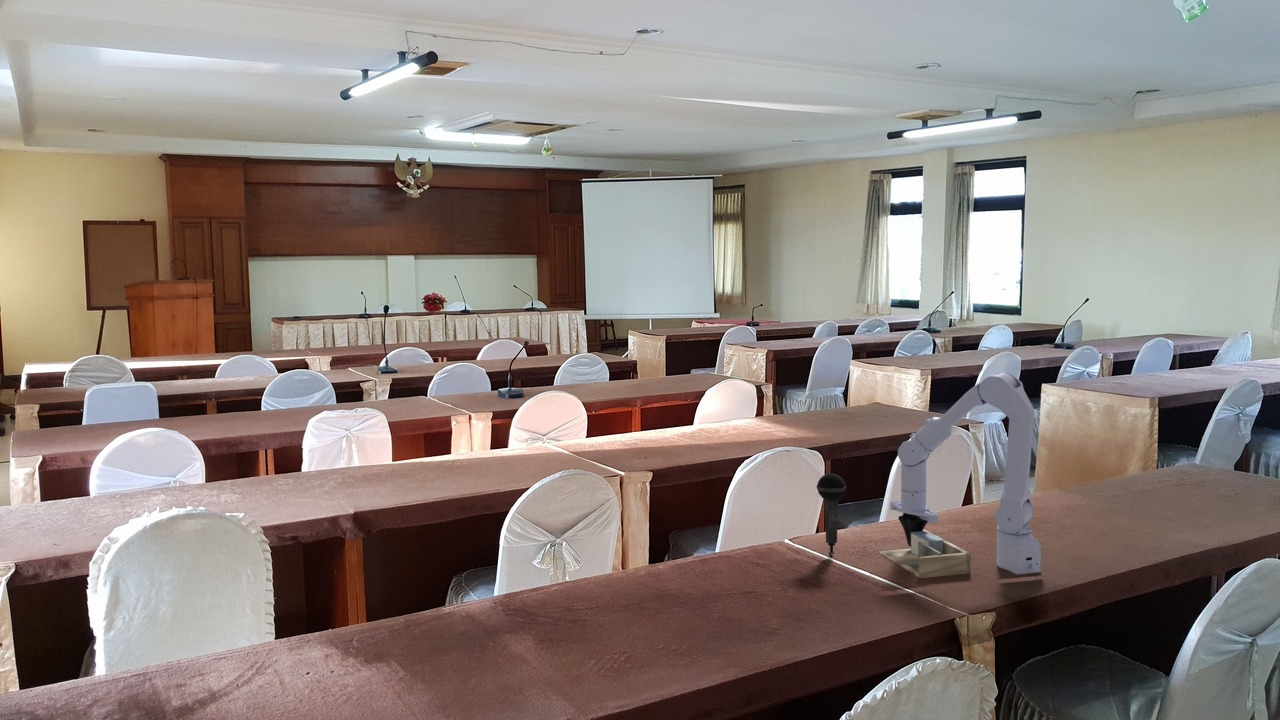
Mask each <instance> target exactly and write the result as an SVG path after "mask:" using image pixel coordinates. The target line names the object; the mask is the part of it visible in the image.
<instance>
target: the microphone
mask: <svg viewBox="0 0 1280 720" xmlns="http://www.w3.org/2000/svg"><path fill="white" fill-rule="evenodd" d="M816 489H817V491H818V494H819V496H820V497H821V498H822V499H824V525H825V542H826V544H827V545H828V546H829V551H828V556H829V557H831V556H832V557H833V555H834V554H835V552H834V546H835V545H836V544H837V543H838V524H839V522H838V521H839V500H840V499H841V498H843V496H845V495H844V494H845V492H846V489H847V486H846V483H845V481H844V478H842V476H840V475H839V474H837V473H833V472H832V473H831V472H830V473H829V472H828V473H826V474H824V475H822V476H821V477H820V478H819V480H818V481H817V484H816Z"/></svg>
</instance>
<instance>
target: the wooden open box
mask: <svg viewBox="0 0 1280 720" xmlns="http://www.w3.org/2000/svg"><path fill="white" fill-rule="evenodd" d="M923 531H926V532H928V533H930V534H932V535H934V536H936V537H938V538H940V539H942V540H943V555H941V553H940V552H939V551H937V550H935V549H933V548H931V547H930V546H928V545H926V544H924V543H922V542H918V556H916V555H914V554H912V553H911V548H904V549H903V548H902V549H892V550H891V549H890V550H881V551H878V553H879V554H881V555H883V556H885V557H886V558H887V559H889V560H890V561H892V562H893V563H895V564H897V565H898V566H900V567H901V568H903V569H905V570H907V571H908V572H909V573H911V574H913V575H914V576H916V577H918V578H920V579H926V578H935V577H937V578H938V577H946V576H957V575H966V574H971V568H972V566H971V558H972V556H971V555H972V554H971V552H969V551H967V550H965V549H962V547H959V546H958V545H955V544H953V543H951V542H949V541H948V540H945V539H943V538H942V537H941V536H938V535H936V534H934V533H932V532H930V531H929V530H927V529H925V528H924V529H923Z"/></svg>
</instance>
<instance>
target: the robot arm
mask: <svg viewBox="0 0 1280 720" xmlns="http://www.w3.org/2000/svg"><path fill="white" fill-rule="evenodd" d="M986 404H989V405H991V406H993V407H995V408H997V409H998V410H1000V411H1001V412H1002V413H1003V414H1004V415H1005V416H1006V417H1007V418H1008V433H1007V447H1006V448H1007V449H1006V457H1005V459H1006V460H1005V472H1004V485H1003V486H1004V487H1003V490H1002V494H1001V497H1000V504H999V506H998V508H997V509H996V511H995V513H994V521H995V524H996V525H997V526H996V528H997V529H996V530H997V531H996V566H998V567H997V568H1000V569H1003V570H1007V571H1008V572H1011V573H1013V574H1015V575H1024V574H1034V573H1035V574H1036V573H1041V564H1042V563H1041V562H1042V552H1041V551H1042V547H1041V546H1042V545H1041V543H1040V541H1039V540H1037V539H1036V538H1035V536H1034V535H1033V530H1032V529H1033V528H1032V527H1031V526H1032V525H1030V521H1032V519H1033V517H1034V513H1035V510H1034V506H1033V503H1032V501H1031V498H1032V493H1031V491H1030V489H1029V484H1030V483H1029V482H1030V473H1031V461H1032V460H1031V459H1032V458H1031V457H1032V448H1033V447H1032V446H1033V445H1032V444H1033V433H1034V423H1035V422H1034V421H1035V409H1034V406H1033V405H1032V403H1031V401H1030V398H1029V397H1028V395H1027V393H1026V392H1025V389H1024V384H1023V382H1022V381H1021V380H1020V379H1018V378H1017V377H1016V376H1015V375H1013V374H1012V373H1010V372H1008V371H1000V372H997V373H995V374H993V375H990V376H987V377H984V379H982V381H981V382H979V383H977V384H976V385H974V386H973V387H971V388H970V389H968V391H966V392H965V393H964V394H963V395H962V396H961V397H960V398H959V399H958V400H957V401H956V402H955V403H954V404H953V405H952V406H951V407H950V408H949V409H948V410H946V412H945V413H944V414H943V415H942V416H940V417H939V416H938V417H937V416H933V417H932V418H926V419H925V420H924V422H923V424H924V425H923V426H922V427H920V429H918V430H917V432H912V433H911V434H910V435H909V437H910V439H909V440H905V441H903V442H902V443H901V444H900V446H899V447H898V449H897V456H898V459H899V460H900V462H901V464H900V465H901V470H900V474H901V475H900V501H898V500H894V501H890V502H889V510H891V511H896V512H899V513H902V515H900V516H898V521H899V523H900V524H901V526H902V528H903V531H904V534H905V538H906V542H907V546H909V547H911V532H918V531H923V529H925V526H926V525H927V524H928V523H929V524H935V523H939V514H938V513H935V512H934V511H932V510H931V509H930V508H929V505H927V460H928V459H929V457H930V455H931V453H933V452H934V451H935V450H936V449H938V448H939V447H940V446H941V445H942V444H944V442H946V441H947V439H948V438H950V437H951V436H952V428H953V427H954V425H956V424H957V423H958V422H959V421H961V420H962V419H963V418H964V417H965V416H967V414H968V413H970V412H971V411H972V410H974V409H975V408H976V407H979V406H983V405H986Z"/></svg>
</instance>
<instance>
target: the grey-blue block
mask: <svg viewBox="0 0 1280 720" xmlns="http://www.w3.org/2000/svg"><path fill="white" fill-rule="evenodd" d="M930 533H931V532H930ZM930 533H928V532H926V531H918V532H911V546H910V549H911V553H912V554H914V555H916V556H918V542H922V543H924V544H926V545H928V546H930V547H931V548H933V549H935V550H937V551H939V552H940V553H941V555H943V540H942V539H943V538H942V539H940V538H941V537H940V538H938V537H939V536H938V537H936V536H937V535H936V536H934V535H935V534H934V535H932V534H933V533H932V534H930Z"/></svg>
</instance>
